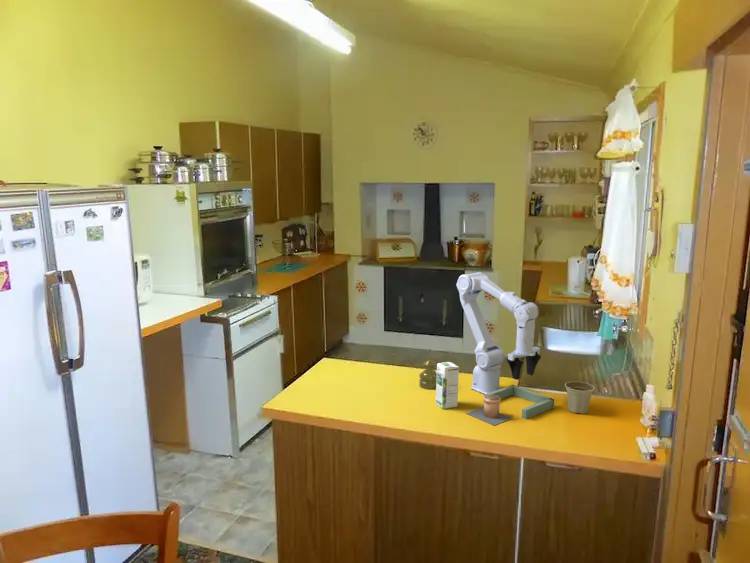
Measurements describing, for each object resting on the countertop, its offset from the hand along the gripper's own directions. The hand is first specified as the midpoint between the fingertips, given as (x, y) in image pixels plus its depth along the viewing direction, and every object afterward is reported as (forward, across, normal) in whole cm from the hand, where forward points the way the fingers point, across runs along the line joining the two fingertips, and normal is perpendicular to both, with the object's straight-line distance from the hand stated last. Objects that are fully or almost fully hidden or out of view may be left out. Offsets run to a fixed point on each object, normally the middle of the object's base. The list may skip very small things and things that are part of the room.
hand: (522, 376), depth 195 cm
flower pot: (+10, +10, -16) cm, 21 cm away
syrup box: (+10, -23, +14) cm, 28 cm away
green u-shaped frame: (+9, -3, -1) cm, 10 cm away
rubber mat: (+9, -18, -1) cm, 20 cm away
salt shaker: (+10, -15, +31) cm, 36 cm away
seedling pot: (+9, -17, -1) cm, 19 cm away
